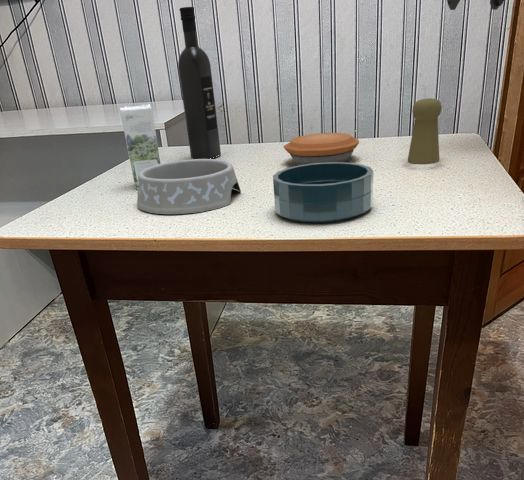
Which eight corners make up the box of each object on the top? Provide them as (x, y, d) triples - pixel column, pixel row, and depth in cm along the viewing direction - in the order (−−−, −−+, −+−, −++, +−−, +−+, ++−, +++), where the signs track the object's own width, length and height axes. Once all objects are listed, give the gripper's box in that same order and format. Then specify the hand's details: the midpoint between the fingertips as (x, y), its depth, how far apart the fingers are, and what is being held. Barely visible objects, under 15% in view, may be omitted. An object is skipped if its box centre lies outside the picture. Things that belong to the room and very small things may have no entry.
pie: (369, 153, 115) (369, 128, 112) (344, 170, 103) (343, 143, 101) (303, 153, 122) (301, 129, 119) (272, 168, 110) (270, 143, 107)
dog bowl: (249, 184, 100) (246, 154, 97) (223, 214, 84) (218, 179, 82) (163, 187, 103) (158, 158, 101) (123, 216, 88) (116, 183, 85)
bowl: (346, 192, 89) (345, 158, 87) (390, 213, 77) (391, 174, 75) (263, 206, 86) (260, 171, 83) (295, 231, 74) (293, 191, 71)
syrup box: (163, 180, 109) (150, 102, 102) (165, 186, 104) (151, 105, 97) (135, 184, 108) (119, 105, 101) (135, 190, 103) (119, 108, 96)
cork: (434, 164, 102) (439, 100, 96) (403, 163, 104) (406, 101, 99) (443, 157, 106) (448, 96, 100) (413, 156, 109) (416, 97, 103)
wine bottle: (223, 155, 127) (205, 5, 112) (209, 160, 123) (189, 6, 108) (203, 155, 130) (184, 8, 115) (189, 160, 126) (167, 9, 110)
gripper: (475, -92, 97) (430, -8, 98) (553, -103, 87) (502, -11, 89) (487, -57, 102) (444, 21, 104) (561, -65, 93) (513, 22, 94)
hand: (471, 6), depth 96 cm, fingers open, 8 cm apart
